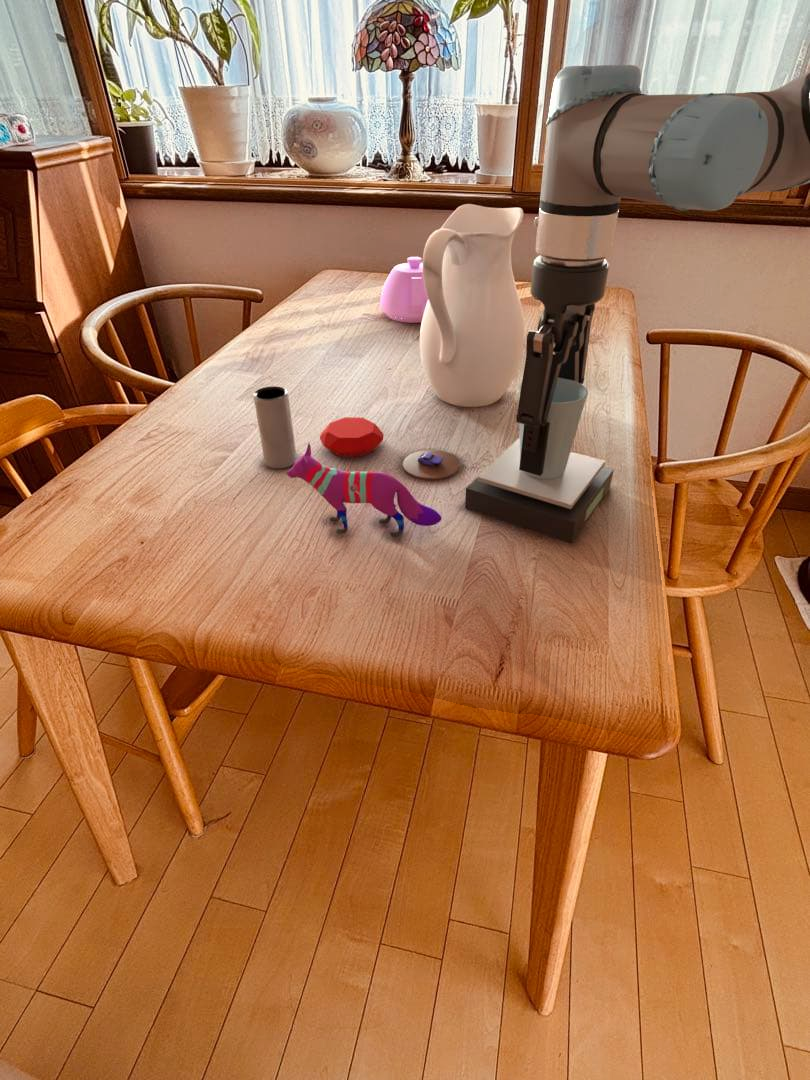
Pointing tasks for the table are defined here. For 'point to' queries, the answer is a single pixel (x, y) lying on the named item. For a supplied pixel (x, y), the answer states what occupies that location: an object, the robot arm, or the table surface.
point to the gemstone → (351, 437)
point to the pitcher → (472, 307)
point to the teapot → (405, 292)
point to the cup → (560, 426)
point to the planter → (275, 426)
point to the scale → (540, 494)
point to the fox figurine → (362, 493)
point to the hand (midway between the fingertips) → (544, 457)
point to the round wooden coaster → (431, 465)
